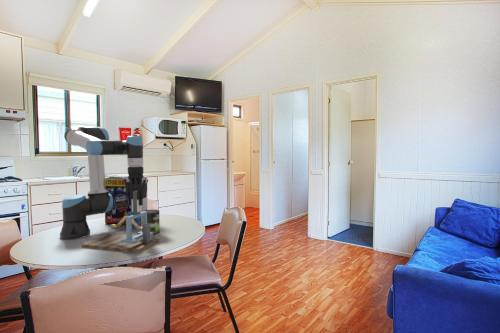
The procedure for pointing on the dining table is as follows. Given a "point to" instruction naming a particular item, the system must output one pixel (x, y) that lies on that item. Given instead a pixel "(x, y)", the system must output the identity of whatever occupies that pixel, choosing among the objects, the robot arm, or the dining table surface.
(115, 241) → the board
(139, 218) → the blue rounded piece
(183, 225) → the dining table surface
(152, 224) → the coffee can
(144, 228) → the buzz wire
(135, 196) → the grey frame
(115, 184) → the cereal box
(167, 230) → the dining table surface
